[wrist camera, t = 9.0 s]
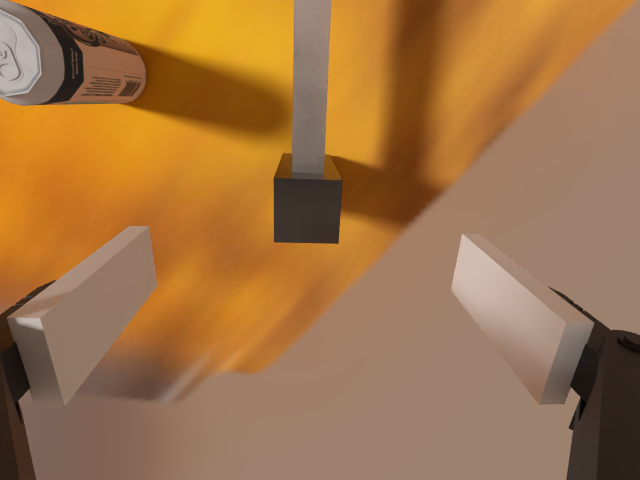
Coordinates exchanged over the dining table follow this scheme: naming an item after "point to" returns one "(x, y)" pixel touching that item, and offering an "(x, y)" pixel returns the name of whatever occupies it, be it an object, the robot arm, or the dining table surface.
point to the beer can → (63, 61)
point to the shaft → (308, 139)
